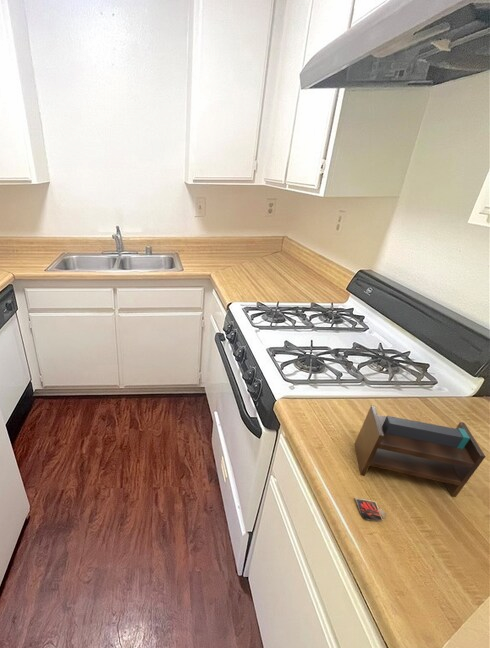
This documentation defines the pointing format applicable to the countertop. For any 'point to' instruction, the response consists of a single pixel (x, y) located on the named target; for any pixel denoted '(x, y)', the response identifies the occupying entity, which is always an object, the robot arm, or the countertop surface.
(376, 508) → the matchbox
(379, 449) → the desk shelf
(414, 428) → the marker pen
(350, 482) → the countertop surface
